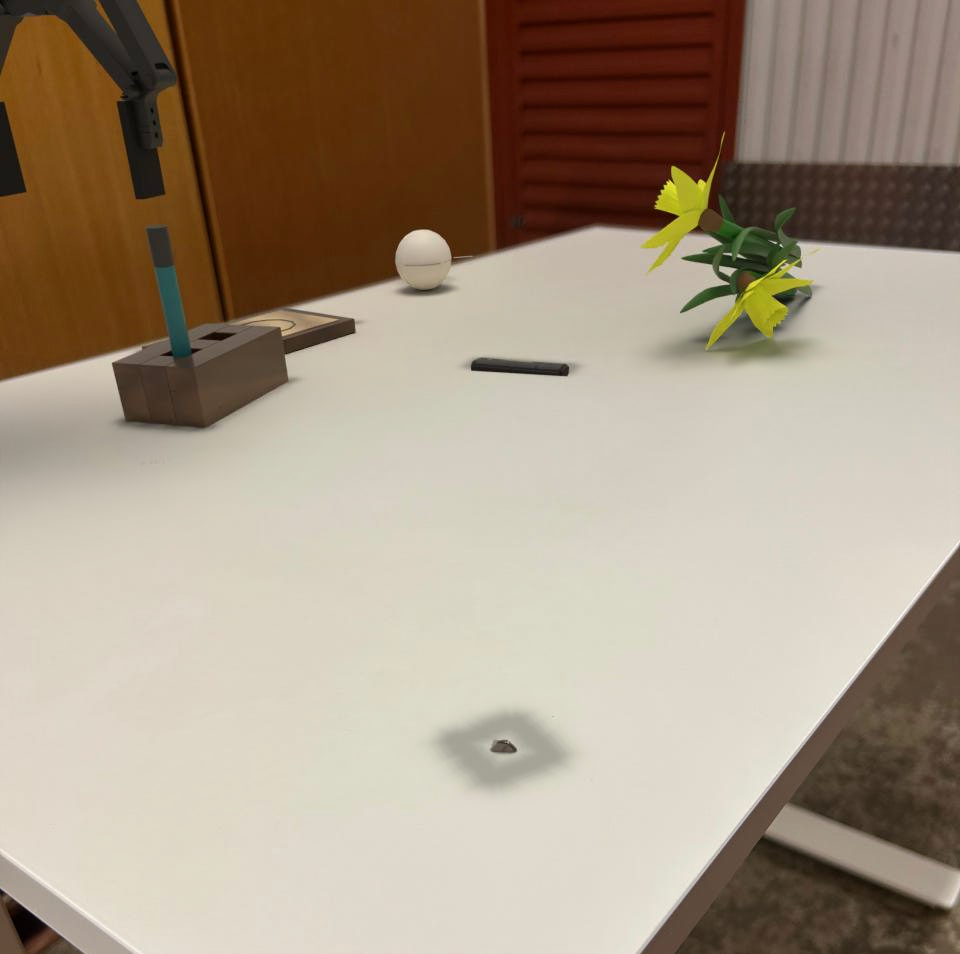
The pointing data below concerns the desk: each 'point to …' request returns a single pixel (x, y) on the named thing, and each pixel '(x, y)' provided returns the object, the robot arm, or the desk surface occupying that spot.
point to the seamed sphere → (423, 259)
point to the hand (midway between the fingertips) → (79, 196)
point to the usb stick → (519, 367)
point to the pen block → (201, 375)
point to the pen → (169, 289)
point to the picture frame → (299, 327)
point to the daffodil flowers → (753, 274)
